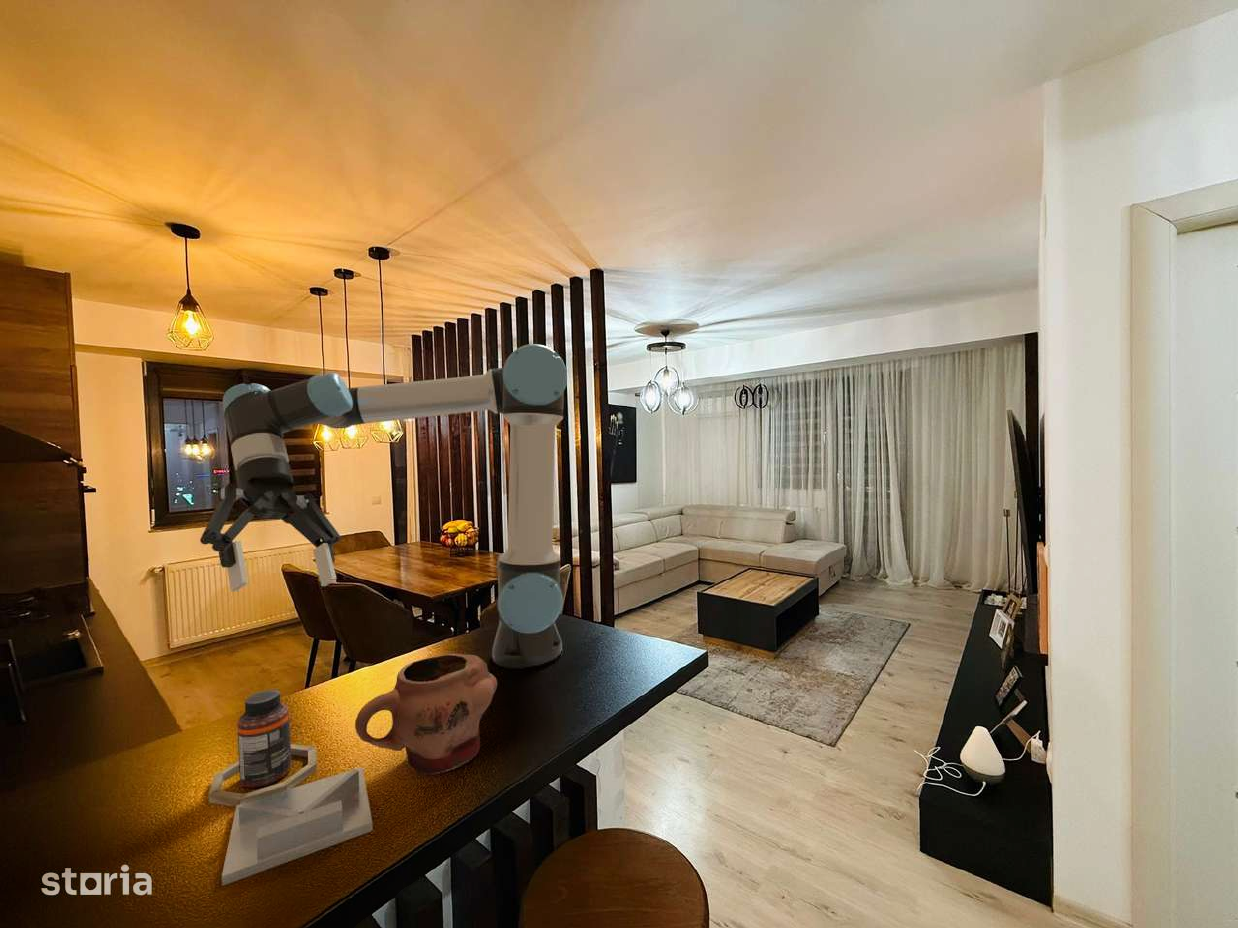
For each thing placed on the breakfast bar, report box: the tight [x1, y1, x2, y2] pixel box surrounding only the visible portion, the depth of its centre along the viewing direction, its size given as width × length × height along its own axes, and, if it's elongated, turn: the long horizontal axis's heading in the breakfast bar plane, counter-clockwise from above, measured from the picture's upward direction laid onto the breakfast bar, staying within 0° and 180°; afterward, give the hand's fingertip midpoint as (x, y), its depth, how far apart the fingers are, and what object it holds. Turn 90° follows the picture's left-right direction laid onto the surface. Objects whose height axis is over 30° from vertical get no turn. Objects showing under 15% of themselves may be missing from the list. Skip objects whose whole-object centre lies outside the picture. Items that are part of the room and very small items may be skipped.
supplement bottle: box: [236, 689, 292, 789], centre depth 71 cm, size 6×6×11 cm
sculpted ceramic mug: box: [354, 653, 498, 775], centre depth 73 cm, size 20×12×14 cm, turn 138°
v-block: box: [221, 766, 374, 887], centre depth 62 cm, size 13×14×4 cm
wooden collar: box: [208, 743, 318, 808], centre depth 71 cm, size 12×12×1 cm
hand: (288, 584), depth 78 cm, fingers open, 13 cm apart
